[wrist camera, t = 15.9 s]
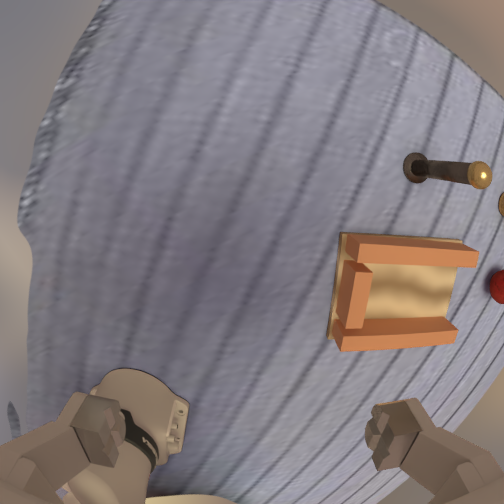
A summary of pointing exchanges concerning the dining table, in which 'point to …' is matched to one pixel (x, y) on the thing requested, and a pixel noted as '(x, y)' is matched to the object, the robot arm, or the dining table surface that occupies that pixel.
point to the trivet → (399, 286)
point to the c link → (359, 283)
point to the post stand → (447, 171)
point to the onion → (497, 287)
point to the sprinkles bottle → (501, 204)
